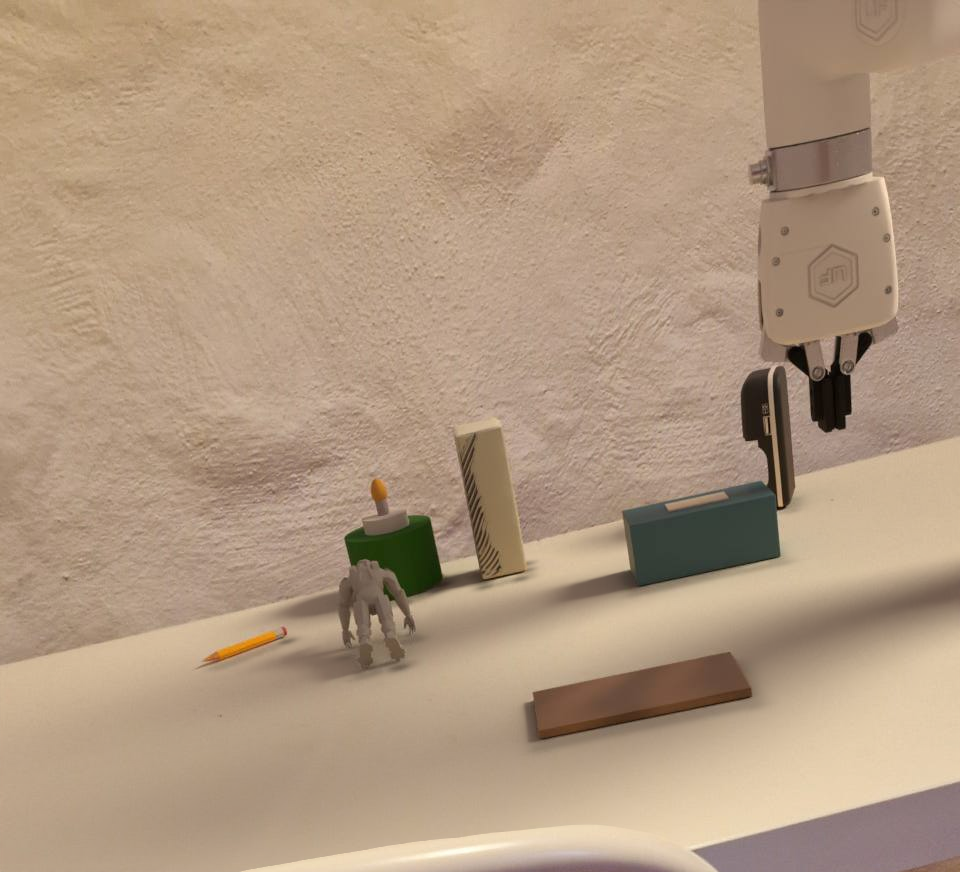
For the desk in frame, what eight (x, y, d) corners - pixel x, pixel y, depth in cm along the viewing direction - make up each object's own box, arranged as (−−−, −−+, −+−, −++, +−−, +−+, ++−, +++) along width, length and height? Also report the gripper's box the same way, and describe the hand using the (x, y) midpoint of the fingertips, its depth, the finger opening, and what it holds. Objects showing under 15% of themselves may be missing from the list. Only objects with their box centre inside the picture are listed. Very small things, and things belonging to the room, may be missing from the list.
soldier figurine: (427, 680, 115) (409, 595, 122) (414, 626, 111) (396, 542, 118) (352, 697, 115) (339, 612, 123) (337, 644, 111) (324, 559, 118)
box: (478, 568, 133) (450, 426, 126) (524, 558, 133) (497, 415, 126) (483, 582, 129) (453, 435, 122) (529, 571, 128) (502, 423, 122)
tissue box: (767, 539, 121) (761, 478, 118) (780, 556, 116) (775, 492, 113) (630, 569, 122) (621, 508, 119) (637, 586, 117) (628, 524, 114)
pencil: (288, 635, 127) (286, 627, 126) (203, 666, 124) (201, 658, 123) (284, 633, 127) (282, 626, 127) (200, 665, 124) (197, 657, 124)
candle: (351, 590, 136) (324, 483, 131) (431, 567, 137) (408, 461, 132) (367, 607, 129) (340, 496, 124) (452, 583, 130) (428, 472, 125)
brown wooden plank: (731, 659, 97) (730, 650, 97) (752, 696, 90) (751, 687, 90) (533, 699, 99) (532, 691, 98) (539, 739, 92) (538, 730, 91)
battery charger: (756, 495, 135) (743, 368, 129) (796, 489, 134) (785, 360, 128) (748, 514, 130) (735, 382, 124) (790, 508, 128) (779, 374, 122)
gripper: (728, 191, 102) (748, 455, 111) (935, 146, 100) (937, 417, 110) (711, 187, 108) (732, 438, 118) (907, 145, 107) (911, 402, 116)
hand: (831, 427), depth 114 cm, fingers closed
